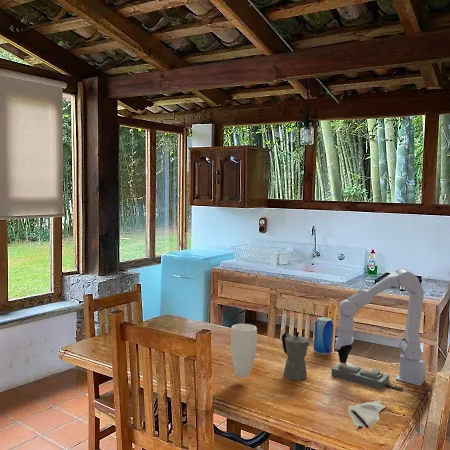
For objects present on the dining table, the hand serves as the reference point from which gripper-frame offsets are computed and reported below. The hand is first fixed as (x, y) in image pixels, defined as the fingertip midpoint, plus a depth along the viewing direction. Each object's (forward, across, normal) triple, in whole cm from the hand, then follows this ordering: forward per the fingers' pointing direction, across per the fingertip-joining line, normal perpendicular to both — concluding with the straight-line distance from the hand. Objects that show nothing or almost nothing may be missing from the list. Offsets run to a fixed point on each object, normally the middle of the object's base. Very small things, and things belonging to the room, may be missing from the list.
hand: (342, 362), depth 188 cm
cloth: (+6, +27, +20) cm, 34 cm away
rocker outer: (+1, 0, +3) cm, 3 cm away
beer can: (+6, -19, -18) cm, 27 cm away
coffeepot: (+6, +14, -14) cm, 21 cm away
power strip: (+5, 0, +11) cm, 12 cm away
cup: (+6, +34, -25) cm, 43 cm away
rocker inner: (+1, 0, +12) cm, 12 cm away
